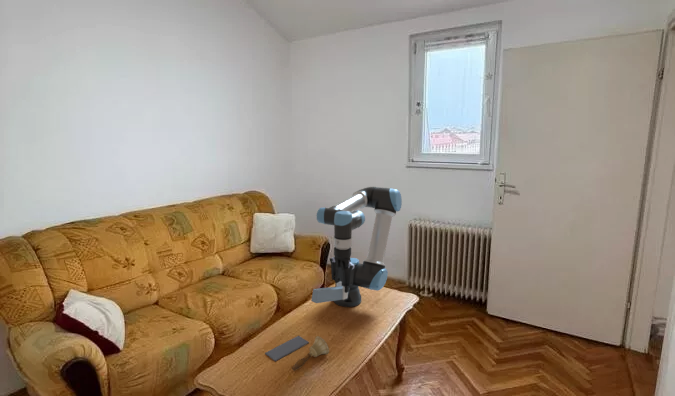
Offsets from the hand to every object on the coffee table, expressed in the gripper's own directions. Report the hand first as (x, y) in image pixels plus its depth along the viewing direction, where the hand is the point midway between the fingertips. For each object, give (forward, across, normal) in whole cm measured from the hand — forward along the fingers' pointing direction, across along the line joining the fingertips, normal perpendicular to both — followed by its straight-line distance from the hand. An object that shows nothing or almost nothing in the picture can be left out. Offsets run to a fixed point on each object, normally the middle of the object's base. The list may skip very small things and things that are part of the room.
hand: (341, 297), depth 165 cm
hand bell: (+15, +3, -15) cm, 22 cm away
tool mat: (+19, -10, -23) cm, 32 cm away
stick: (-1, 0, -8) cm, 8 cm away
